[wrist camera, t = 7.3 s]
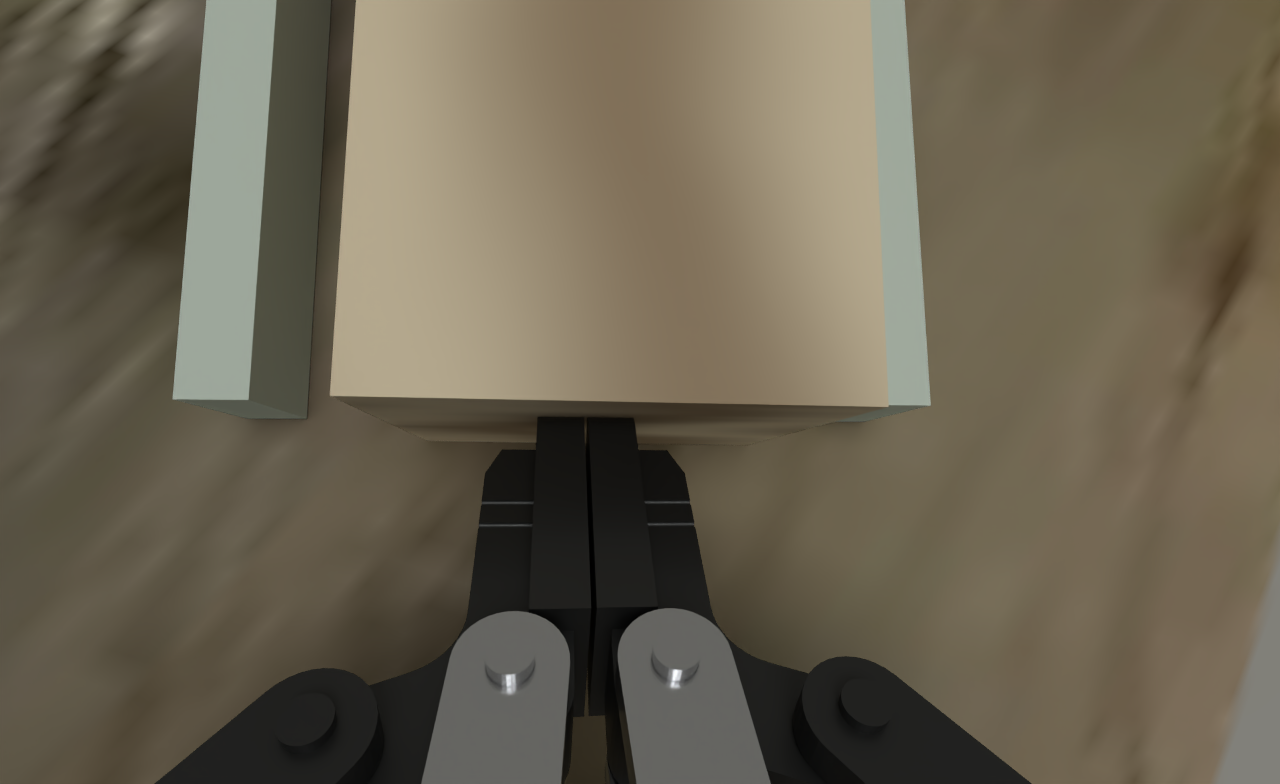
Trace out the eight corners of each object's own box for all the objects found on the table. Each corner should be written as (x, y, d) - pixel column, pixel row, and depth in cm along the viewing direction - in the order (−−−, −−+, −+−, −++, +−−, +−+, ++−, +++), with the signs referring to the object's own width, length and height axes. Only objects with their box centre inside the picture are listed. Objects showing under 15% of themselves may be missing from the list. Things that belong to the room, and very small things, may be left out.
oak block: (427, 441, 16) (330, 395, 9) (451, -65, 17) (385, -434, 10) (747, 445, 16) (889, 406, 10) (739, -38, 18) (853, -365, 11)
